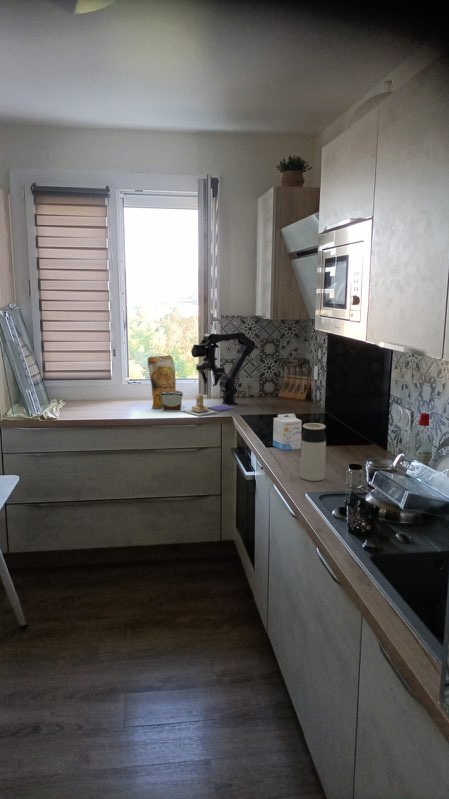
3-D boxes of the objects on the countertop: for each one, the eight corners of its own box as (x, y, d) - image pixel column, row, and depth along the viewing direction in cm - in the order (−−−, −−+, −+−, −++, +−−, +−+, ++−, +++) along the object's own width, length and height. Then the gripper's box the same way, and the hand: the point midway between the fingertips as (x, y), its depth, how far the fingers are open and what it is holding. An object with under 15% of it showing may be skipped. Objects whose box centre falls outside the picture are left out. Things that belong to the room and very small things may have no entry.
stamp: (201, 409, 292) (200, 394, 290) (208, 411, 287) (207, 395, 286) (191, 411, 288) (191, 395, 286) (198, 413, 283) (198, 396, 282)
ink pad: (221, 406, 304) (221, 404, 304) (234, 409, 296) (234, 407, 296) (206, 408, 297) (206, 407, 297) (219, 412, 289) (219, 410, 289)
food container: (185, 408, 298) (185, 390, 296) (183, 411, 292) (183, 392, 290) (163, 408, 300) (162, 390, 298) (160, 410, 294) (160, 392, 292)
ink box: (282, 451, 216) (283, 417, 214) (272, 445, 224) (272, 413, 221) (301, 448, 219) (302, 415, 217) (290, 443, 227) (291, 411, 225)
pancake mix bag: (145, 407, 301) (143, 357, 296) (173, 403, 314) (172, 354, 308) (152, 409, 296) (151, 357, 291) (180, 404, 309) (179, 355, 304)
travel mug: (316, 483, 179) (317, 429, 175) (296, 478, 184) (297, 425, 181) (329, 477, 184) (331, 425, 181) (309, 472, 190) (310, 421, 186)
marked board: (200, 409, 297) (200, 407, 297) (217, 413, 286) (217, 411, 286) (182, 412, 290) (182, 410, 289) (199, 416, 278) (199, 415, 278)
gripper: (188, 356, 303) (188, 383, 306) (209, 358, 289) (209, 388, 292) (204, 354, 310) (204, 381, 313) (225, 357, 296) (225, 385, 299)
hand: (210, 384), depth 304 cm, fingers open, 9 cm apart
